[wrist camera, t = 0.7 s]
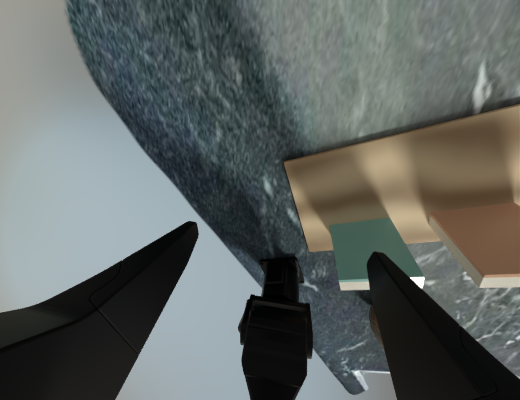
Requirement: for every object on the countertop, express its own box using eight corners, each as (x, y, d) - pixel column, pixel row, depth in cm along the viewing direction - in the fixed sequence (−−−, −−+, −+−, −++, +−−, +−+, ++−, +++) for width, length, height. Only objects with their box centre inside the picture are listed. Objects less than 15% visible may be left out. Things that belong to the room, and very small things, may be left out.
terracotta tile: (507, 215, 20) (603, 285, 14) (428, 224, 23) (479, 287, 16) (513, 202, 19) (618, 270, 13) (430, 212, 22) (484, 275, 15)
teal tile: (389, 228, 24) (422, 288, 17) (331, 234, 26) (340, 290, 20) (389, 217, 23) (424, 277, 17) (329, 225, 25) (338, 279, 19)
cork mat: (538, 229, 21) (541, 232, 21) (309, 249, 29) (309, 251, 29) (625, 77, 14) (633, 78, 13) (284, 161, 22) (283, 162, 21)
